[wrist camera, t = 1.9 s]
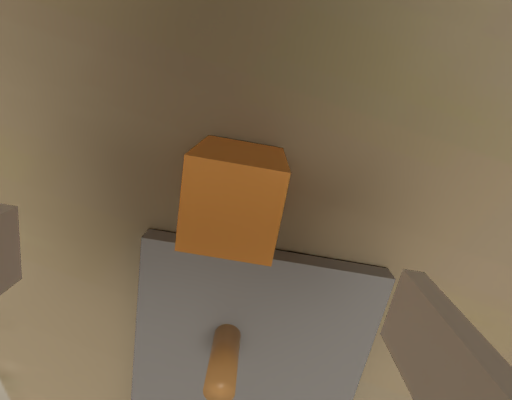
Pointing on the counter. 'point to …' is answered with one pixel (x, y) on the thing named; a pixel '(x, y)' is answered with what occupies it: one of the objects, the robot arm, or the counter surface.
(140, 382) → the plate
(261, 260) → the orange rectangular block
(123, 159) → the counter surface
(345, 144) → the counter surface
